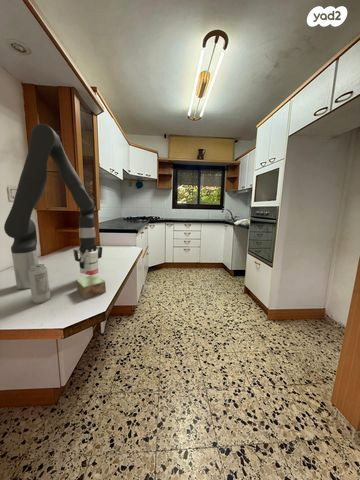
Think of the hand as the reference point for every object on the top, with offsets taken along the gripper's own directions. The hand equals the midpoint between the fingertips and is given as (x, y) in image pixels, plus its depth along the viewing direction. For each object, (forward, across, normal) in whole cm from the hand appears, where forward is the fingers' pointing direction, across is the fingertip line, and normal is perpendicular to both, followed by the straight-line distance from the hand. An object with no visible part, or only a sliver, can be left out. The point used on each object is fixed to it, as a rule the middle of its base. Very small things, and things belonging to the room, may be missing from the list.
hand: (89, 267), depth 99 cm
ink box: (+3, 0, 0) cm, 3 cm away
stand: (+7, -4, -15) cm, 17 cm away
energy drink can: (+7, -22, -10) cm, 26 cm away
